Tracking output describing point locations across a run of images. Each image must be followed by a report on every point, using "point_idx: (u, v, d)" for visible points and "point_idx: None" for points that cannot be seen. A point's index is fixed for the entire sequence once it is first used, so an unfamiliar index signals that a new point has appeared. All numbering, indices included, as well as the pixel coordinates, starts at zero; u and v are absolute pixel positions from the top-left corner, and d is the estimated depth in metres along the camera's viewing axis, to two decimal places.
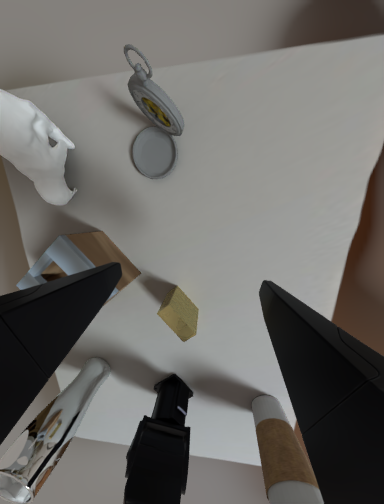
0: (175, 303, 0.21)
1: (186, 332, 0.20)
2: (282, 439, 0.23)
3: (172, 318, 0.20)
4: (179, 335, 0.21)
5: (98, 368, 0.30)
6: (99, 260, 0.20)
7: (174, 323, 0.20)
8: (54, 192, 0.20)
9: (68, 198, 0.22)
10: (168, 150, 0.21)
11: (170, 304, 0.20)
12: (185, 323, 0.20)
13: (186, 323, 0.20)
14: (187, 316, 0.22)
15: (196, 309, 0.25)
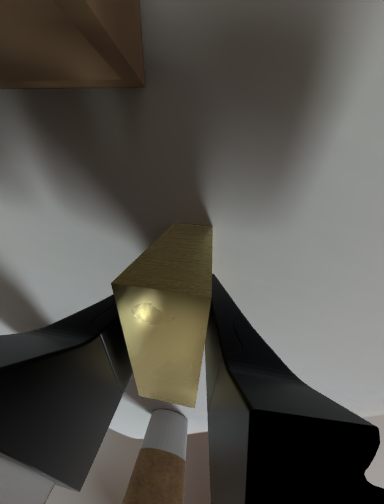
0: None
1: (171, 391, 0.05)
2: (171, 494, 0.16)
3: (168, 342, 0.04)
4: (141, 382, 0.05)
5: None
6: None
7: (157, 356, 0.04)
8: None
9: None
10: None
11: None
12: (197, 379, 0.05)
13: None
14: None
15: None
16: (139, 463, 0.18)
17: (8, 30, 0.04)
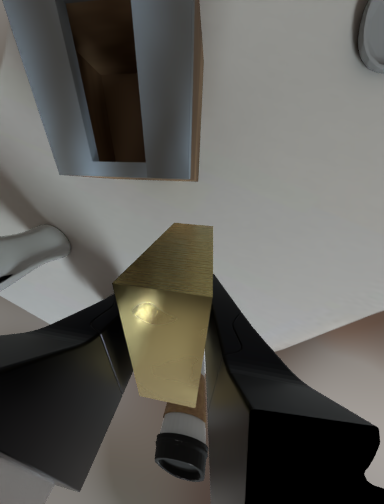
0: None
1: (172, 391, 0.05)
2: (198, 388, 0.27)
3: (169, 342, 0.04)
4: (142, 382, 0.05)
5: (57, 243, 0.22)
6: (194, 101, 0.10)
7: (158, 356, 0.04)
8: None
9: None
10: None
11: None
12: (198, 379, 0.05)
13: (199, 377, 0.05)
14: None
15: None
16: None
17: None
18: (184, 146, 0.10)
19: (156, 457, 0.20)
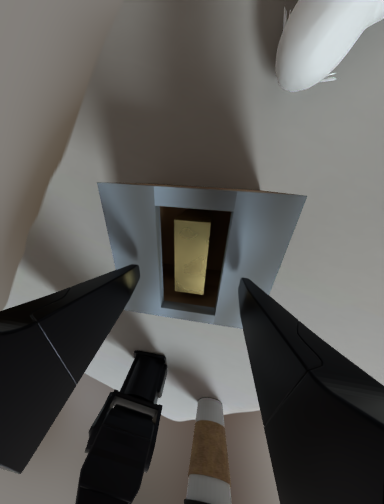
0: None
1: (192, 282, 0.11)
2: (221, 444, 0.27)
3: (193, 249, 0.10)
4: (177, 278, 0.11)
5: None
6: None
7: (188, 258, 0.10)
8: (338, 48, 0.07)
9: (309, 87, 0.09)
10: None
11: (210, 224, 0.09)
12: (205, 270, 0.11)
13: (205, 272, 0.11)
14: None
15: None
16: (198, 428, 0.29)
17: None
18: None
19: None
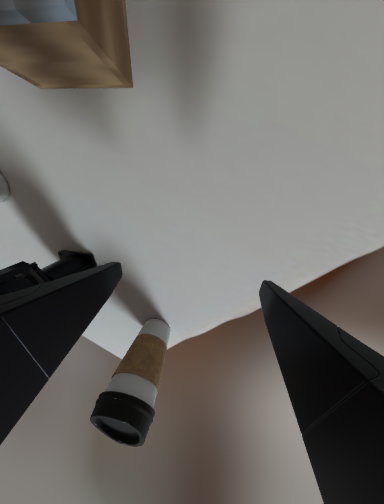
0: None
1: None
2: (154, 351, 0.24)
3: None
4: None
5: None
6: None
7: None
8: None
9: None
10: None
11: None
12: None
13: None
14: None
15: None
16: (134, 341, 0.26)
17: (86, 69, 0.13)
18: None
19: (90, 417, 0.18)
